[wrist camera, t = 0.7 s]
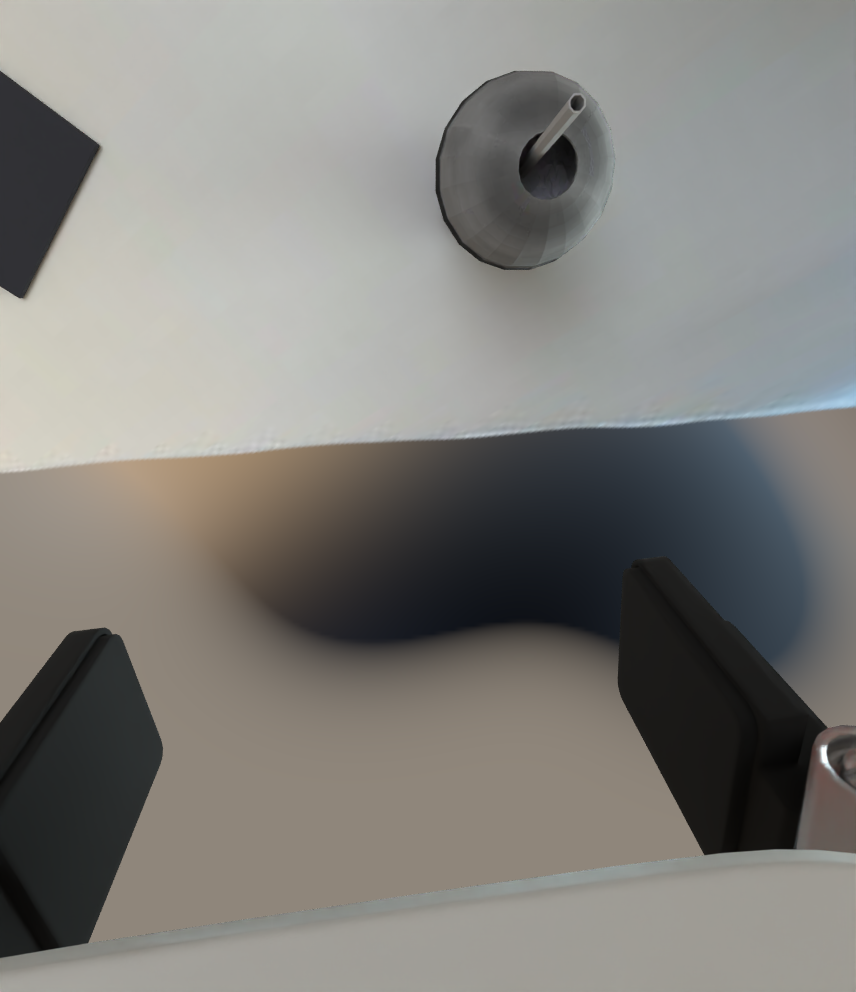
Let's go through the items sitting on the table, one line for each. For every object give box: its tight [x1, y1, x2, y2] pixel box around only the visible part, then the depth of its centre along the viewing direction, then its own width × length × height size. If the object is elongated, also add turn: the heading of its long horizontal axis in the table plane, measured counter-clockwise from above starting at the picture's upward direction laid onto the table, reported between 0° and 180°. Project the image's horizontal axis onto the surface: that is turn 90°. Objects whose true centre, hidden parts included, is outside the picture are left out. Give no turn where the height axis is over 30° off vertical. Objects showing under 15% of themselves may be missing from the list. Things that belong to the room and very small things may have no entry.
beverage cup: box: [436, 71, 615, 270], centre depth 26 cm, size 7×7×20 cm
